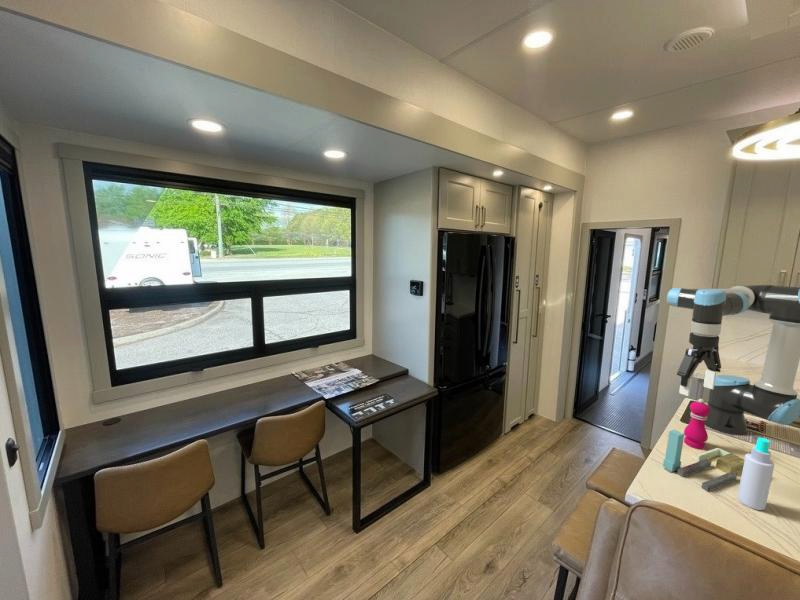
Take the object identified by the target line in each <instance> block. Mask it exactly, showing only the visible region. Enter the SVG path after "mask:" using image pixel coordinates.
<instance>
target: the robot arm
mask: <svg viewBox="0 0 800 600" xmlns="http://www.w3.org/2000/svg"><path fill="white" fill-rule="evenodd" d="M666 302H667V304H668V305H669V306H672V307H676V308H683V309H687V310H692V319H691V321H690V331H691V332H690V333H689V339H688V342H689V344H691V345H692V349H691V348H686V349H685V351H684V353H685V354H684V357H683V358H682V361H681V362H680V365H679V367H678V370H677V372H676V375H677V376H679V377H680V384H679V390H678V393H679V394H681V395H683V396H687V397H689V396H690V393H691V387H692V380H693V379H692V378H691V376H692V375H693V373H694V371H695V370H696V369H697V367H698V366H699V365H700V364H701V363H702V362H704V364H705V366H706V368H707V369H705V373H704V380H703V388H706V389H709V393H708V399H707V405H708V406H709V408H710V413H709V414H708V415H707V420H705V426H707V427H708V428H710V429H713V430H716V431H718V432H722V433H724V434H725V433H726V434H730V435H731V434H732V435H745V434H746V433H747V430H748V425H747V422H746V418H745V417H746V416H745V413H748V414H751V415H753V416H756V417H759V418H762V419H765V420H766V421H768V422H772V423H775V424H778V425H783V426H786V425H790V424H792V423H793V422H795V421H796V420H797V419H798V418H799V417H800V399H799V398H797V397H798V392H797V391H796V389H794V383H795V380H796V376H797V373H798V369H799V365H800V286H787V285H786V286H785V285H784V286H783V285H773V284H754V285H753V284H752V285H736V286H732V287H731V288H684V287H673V288H671V289H669V291H668V292H667V295H666ZM746 311H753V312H757V313H762V314H768V315H769V317H768V320H769V321H770V322H772V329H771V333H770V337H769V341H768V342H769V343H768V346H767V350H766V354H765V359H764V363H763V368H762V371H761V377H760V380H758V381H756V382H755V381H754V383H753V385H752V384H751V381H750V379H748V378H746V377H742V376H737V375H732V374H731V375H730V374H729V375H728V374H717V373H720V372H721V371H722V370H721V369H722V363H721V357H720V353H719V350H720V349H719V347H720V346H719V343H720V335H721V330H722V324H723V323H722V321H723V316H731V315H732V316H734V315H738V314H742V313H745V312H746Z"/></svg>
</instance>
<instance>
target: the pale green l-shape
mask: <svg viewBox="0 0 800 600" xmlns="http://www.w3.org/2000/svg"><path fill="white" fill-rule="evenodd" d="M727 454H730V452H728V451H726V450H724V449H723V448H720V447H716V448H713V449H710V450H707V451H704V452H701V453H698V454H696V458H695V459H696V462H700V461H702V460H705V459H707V460H709V459H711V458H713V457H717V456H719V457H722V456H724V455H727Z"/></svg>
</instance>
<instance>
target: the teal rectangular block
mask: <svg viewBox="0 0 800 600" xmlns="http://www.w3.org/2000/svg"><path fill="white" fill-rule="evenodd" d="M684 438H685V435H684V432H681V431H679V430H677V429H672V430H669V432H668V438H667V442H666V443H667V445H666V451H665V457H664V458H663V462H662V467H663V468H666V469H668V470H670V471H671V473H673V472H675V471H678V469H679V468H681V467H682V466H681V465H682V461H681V458H682V451H683V445H684ZM672 471H673V472H672Z"/></svg>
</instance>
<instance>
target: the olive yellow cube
mask: <svg viewBox="0 0 800 600" xmlns="http://www.w3.org/2000/svg"><path fill="white" fill-rule="evenodd" d="M737 466H738V462H736V461H734V460H732V459H730V458H728V457H726V456H722V457H721V456H719V457H717V458H716V464H715V468H716V469H717V470H720V471H721V472H722V473H723V472H724V474H727V473H729V472H733V473H735V474H736V473H737V472H736V471H737Z"/></svg>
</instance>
